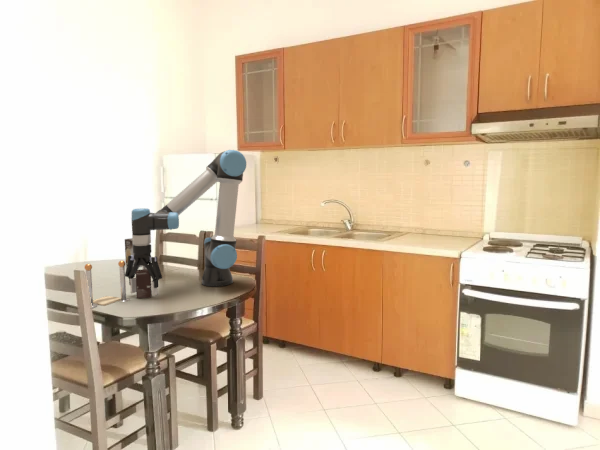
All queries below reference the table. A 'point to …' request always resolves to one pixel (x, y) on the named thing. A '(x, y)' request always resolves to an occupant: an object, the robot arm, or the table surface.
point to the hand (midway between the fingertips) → (144, 293)
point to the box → (143, 284)
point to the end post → (90, 282)
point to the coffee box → (129, 249)
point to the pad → (106, 300)
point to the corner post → (122, 282)
